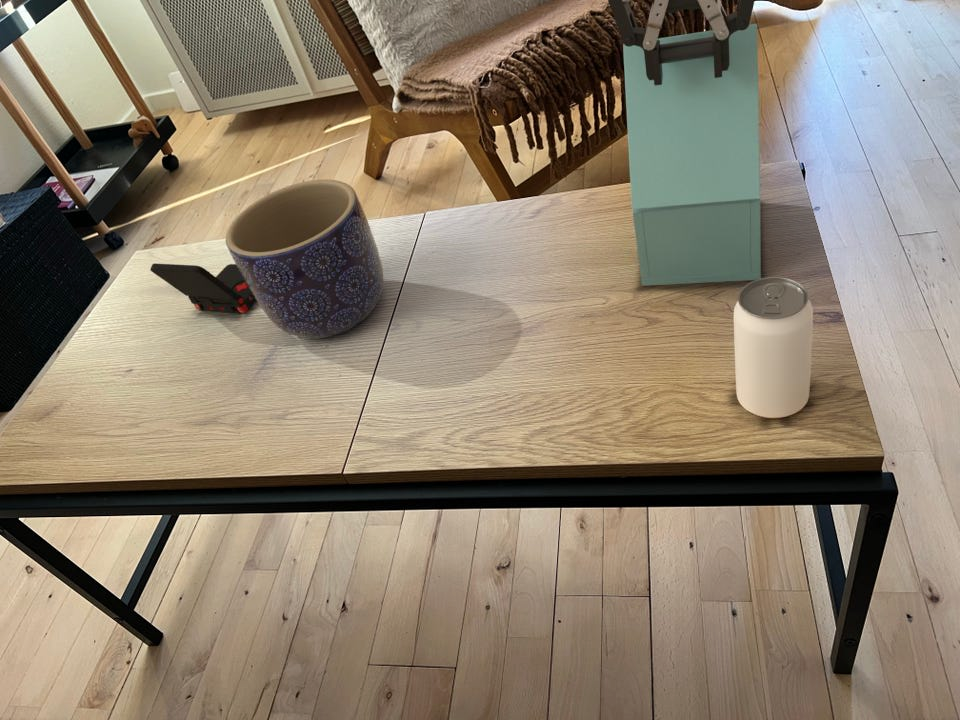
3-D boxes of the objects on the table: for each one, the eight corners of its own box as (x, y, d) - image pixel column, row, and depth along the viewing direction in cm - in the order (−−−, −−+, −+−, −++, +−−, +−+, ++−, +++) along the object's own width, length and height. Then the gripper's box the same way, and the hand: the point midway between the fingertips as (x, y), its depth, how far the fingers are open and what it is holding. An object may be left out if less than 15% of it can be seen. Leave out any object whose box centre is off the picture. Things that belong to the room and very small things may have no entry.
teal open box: (651, 210, 102) (643, 140, 95) (757, 201, 98) (756, 128, 91) (642, 286, 91) (632, 213, 84) (760, 279, 86) (760, 202, 80)
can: (810, 374, 75) (815, 273, 67) (807, 423, 70) (812, 322, 63) (739, 370, 77) (736, 273, 69) (732, 418, 73) (728, 320, 65)
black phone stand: (281, 274, 112) (251, 215, 106) (233, 329, 105) (198, 269, 98) (231, 271, 116) (200, 214, 110) (181, 324, 109) (145, 266, 102)
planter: (418, 280, 103) (382, 180, 93) (348, 363, 93) (300, 262, 83) (323, 267, 111) (282, 175, 101) (250, 343, 101) (195, 249, 92)
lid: (624, 45, 81) (616, 37, 76) (757, 24, 77) (758, 15, 72) (632, 209, 84) (626, 211, 80) (760, 198, 80) (761, 200, 75)
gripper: (585, -84, 65) (611, 105, 76) (768, -121, 60) (767, 86, 72) (596, -110, 70) (618, 71, 81) (765, -146, 66) (765, 51, 77)
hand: (688, 77), depth 76 cm, fingers closed on lid, 5 cm apart
